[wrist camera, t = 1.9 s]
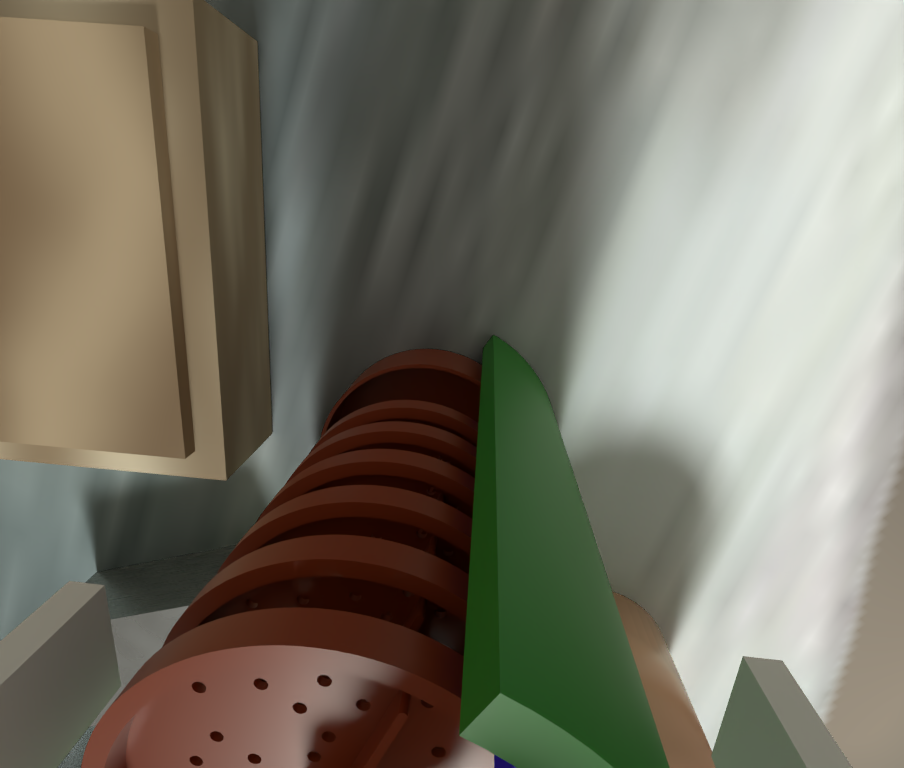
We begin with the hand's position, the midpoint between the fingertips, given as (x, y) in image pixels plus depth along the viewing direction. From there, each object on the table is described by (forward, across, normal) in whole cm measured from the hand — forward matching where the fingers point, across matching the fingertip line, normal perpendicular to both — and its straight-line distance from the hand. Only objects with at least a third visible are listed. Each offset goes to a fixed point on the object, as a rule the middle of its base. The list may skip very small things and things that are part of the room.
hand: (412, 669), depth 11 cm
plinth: (+11, -14, +7) cm, 19 cm away
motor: (+11, 0, 0) cm, 11 cm away
